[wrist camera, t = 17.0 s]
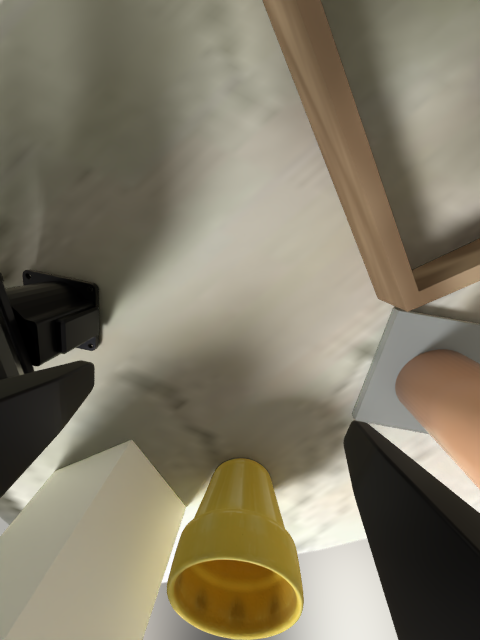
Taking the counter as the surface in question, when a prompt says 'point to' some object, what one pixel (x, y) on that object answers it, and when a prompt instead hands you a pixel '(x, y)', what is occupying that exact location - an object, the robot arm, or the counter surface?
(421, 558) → the robot arm
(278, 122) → the counter surface
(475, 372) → the terracotta pot
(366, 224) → the wooden box frame
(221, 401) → the counter surface
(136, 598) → the milk
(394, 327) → the slate tile
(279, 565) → the plant pot
